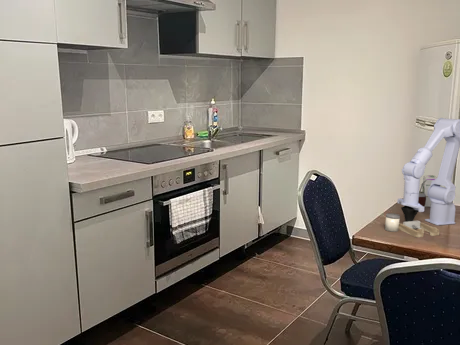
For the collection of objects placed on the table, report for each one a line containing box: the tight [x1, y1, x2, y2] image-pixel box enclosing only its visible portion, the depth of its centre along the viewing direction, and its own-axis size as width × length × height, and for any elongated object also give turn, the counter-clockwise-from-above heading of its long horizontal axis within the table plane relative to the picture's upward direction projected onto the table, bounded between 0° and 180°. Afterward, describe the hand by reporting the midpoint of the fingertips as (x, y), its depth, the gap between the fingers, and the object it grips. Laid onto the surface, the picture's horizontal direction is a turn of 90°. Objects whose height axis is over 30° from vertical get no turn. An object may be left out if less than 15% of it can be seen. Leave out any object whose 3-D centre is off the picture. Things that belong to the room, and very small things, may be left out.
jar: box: [384, 212, 401, 233], centre depth 185 cm, size 5×5×6 cm
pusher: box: [402, 220, 422, 230], centre depth 184 cm, size 7×6×3 cm
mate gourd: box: [418, 180, 427, 208], centre depth 216 cm, size 8×8×15 cm
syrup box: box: [421, 174, 438, 208], centre depth 222 cm, size 6×6×14 cm
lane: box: [398, 219, 440, 238], centre depth 184 cm, size 10×15×3 cm
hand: (408, 224), depth 188 cm, fingers closed
